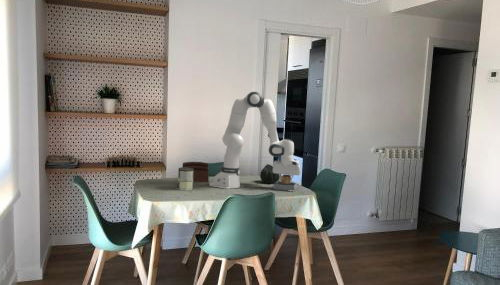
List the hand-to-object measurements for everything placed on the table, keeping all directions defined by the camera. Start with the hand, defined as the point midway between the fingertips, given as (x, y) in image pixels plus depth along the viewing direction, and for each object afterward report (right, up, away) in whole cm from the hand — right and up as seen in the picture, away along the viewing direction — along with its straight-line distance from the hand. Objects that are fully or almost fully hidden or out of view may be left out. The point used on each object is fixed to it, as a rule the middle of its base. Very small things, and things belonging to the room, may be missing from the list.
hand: (286, 180), depth 297 cm
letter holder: (-68, -2, +13) cm, 69 cm away
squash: (-11, -4, +21) cm, 24 cm away
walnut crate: (0, -2, 0) cm, 2 cm away
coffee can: (-71, -5, -16) cm, 73 cm away
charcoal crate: (-1, -6, 0) cm, 6 cm away
